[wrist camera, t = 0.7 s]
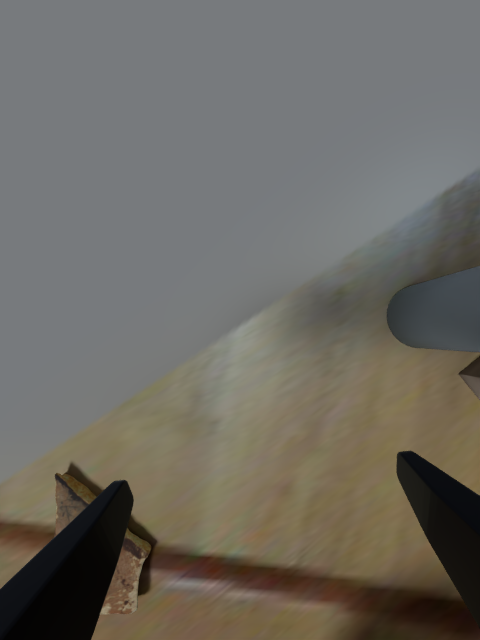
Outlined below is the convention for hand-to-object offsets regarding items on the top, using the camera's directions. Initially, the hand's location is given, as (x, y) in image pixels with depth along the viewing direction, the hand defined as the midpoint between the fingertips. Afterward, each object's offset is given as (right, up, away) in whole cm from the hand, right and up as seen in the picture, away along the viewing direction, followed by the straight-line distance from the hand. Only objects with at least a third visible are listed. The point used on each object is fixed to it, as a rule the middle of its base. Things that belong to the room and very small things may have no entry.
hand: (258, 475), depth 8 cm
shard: (-14, -14, +14) cm, 24 cm away
